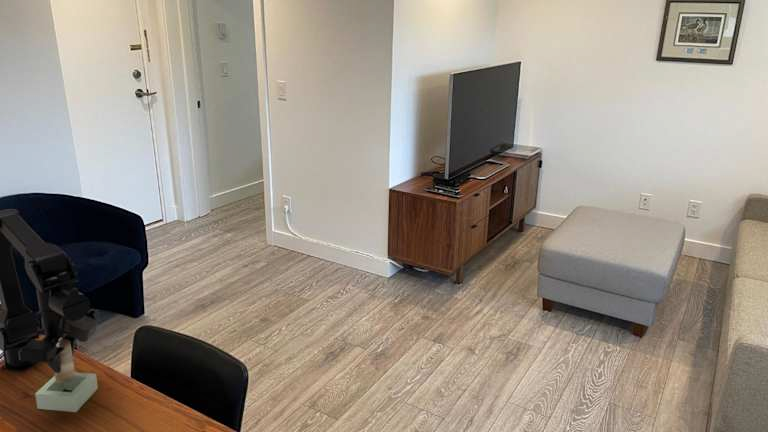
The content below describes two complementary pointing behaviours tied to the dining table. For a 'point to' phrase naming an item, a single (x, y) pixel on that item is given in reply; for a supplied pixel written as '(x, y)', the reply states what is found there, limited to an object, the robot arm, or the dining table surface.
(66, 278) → the robot arm
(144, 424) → the dining table surface
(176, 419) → the dining table surface
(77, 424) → the dining table surface
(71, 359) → the peg
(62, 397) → the socket
